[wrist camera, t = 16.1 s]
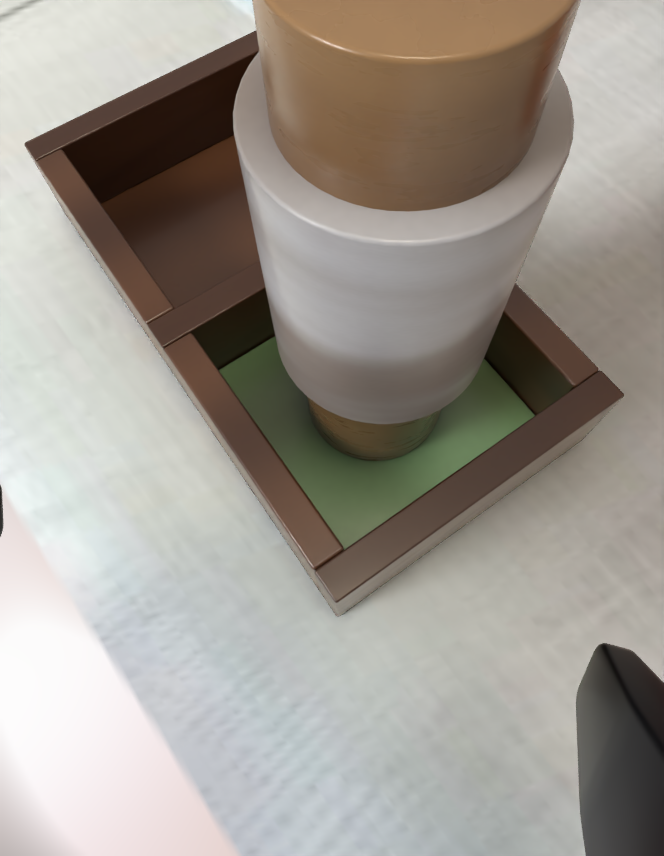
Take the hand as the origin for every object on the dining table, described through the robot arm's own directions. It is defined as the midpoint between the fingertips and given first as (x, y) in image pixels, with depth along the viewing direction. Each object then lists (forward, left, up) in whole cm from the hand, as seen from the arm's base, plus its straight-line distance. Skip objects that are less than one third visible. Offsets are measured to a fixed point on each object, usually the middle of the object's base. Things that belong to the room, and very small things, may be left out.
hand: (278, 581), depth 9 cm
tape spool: (+6, +5, -10) cm, 12 cm away
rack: (+6, +9, -11) cm, 15 cm away
